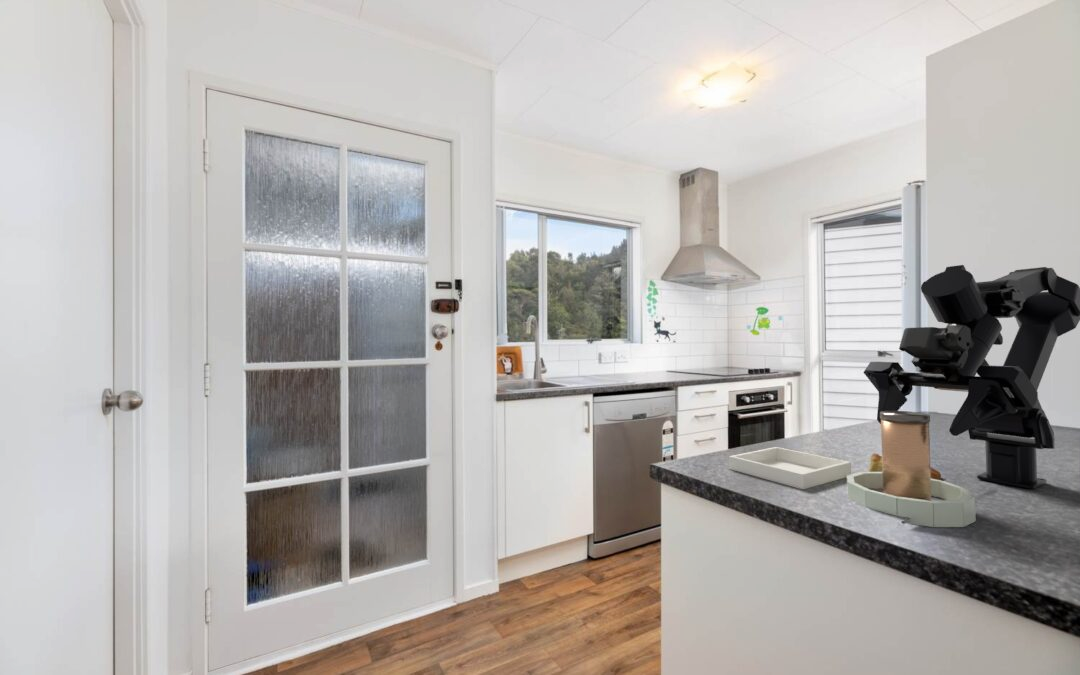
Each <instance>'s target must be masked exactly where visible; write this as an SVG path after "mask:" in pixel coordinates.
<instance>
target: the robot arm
mask: <svg viewBox="0 0 1080 675" xmlns="http://www.w3.org/2000/svg"><path fill="white" fill-rule="evenodd" d="M920 291H921V293H922V294H923V297H924V298H925V300H926V302H927V304H928V306H929V308H930V309H931V311H932V313H933V315H934V318H935V319H936V321H937V322H938V323H942V324H946V326H945V327H934V326H924V327H906V328H903V329H904V330H903V333H902V335H901V341H900V344H899V347H898V349H899V350H900V351H901V352H905V353H906V354H908V355H910V356H912V357H913V358H912V359H911V363H912V364H913V366H914V367H915V368H919V370H917V371H916V370H905V369H904V368H903V367H902V366H901V365H900V364H901V363H899V362H898V361H897V362H896V361H895V362H894V361H870V362H869V363H868V365H867V367H866V368H865V369H864V371H863V374H864V375H865V376H866V377H867V379H868V381H870V383H871V384H872V385H873V387H874V388H875V389H876V390H877V392H878V401H877V402H878V403H877V414H876V421H878V423H879V425H881V418H880V412H881V411H900V409H901V408H902V407H903V405H904V404H906V402H908V398H907V396H909V395H910V394H911V392H912V391H913V390H914V389H913V386H914V387H925V388H934V389H937V390H940V391H955V392H964V393H967V397H966V398H965V399H964V401H963V403H962V405H961V406H960V408H959V410H958V411H957V413H956V415H955V416H954V418H953V420H952V422H951V424H950V427H949V428H948V429H949V430H948V431H949V433H950V434H951V435H952V436H955V437H957V436H959V435H961V434H963V433H965V432H967V431H968V435H969V436H968V437H969V440H972V441H973V440H974V441H976V440H977V441H982V442H984V443H985V444H984V445H985V446H984V447H985V448H984V449H985V472H982V473H979V474H977V475H976V479H979V480H984V481H988V482H993V483H999V484H1004V485H1010V486H1013V487H1014V486H1015V487H1020V488H1023V489H1024V488H1025V489H1031V490H1034V489H1036V488H1038V487H1040V486H1042V485H1044V484H1047V478H1046V479H1045V478H1039V477H1038V468H1037V466H1038V464H1037V461H1038V460H1037V449H1038V450H1044V449H1048V450H1049V449H1056V448H1055V432H1054V430H1053V428H1052V424H1050V421H1049V419H1048V417H1047V415H1046V412H1045V410H1044V409H1043V408H1042V405H1041V402H1040V400H1039V396H1038V394H1039V393H1038V388H1039V387H1040V384H1041V381H1042V379H1043V376H1044V373H1045V370H1046V368H1047V366H1048V363H1049V361H1050V357H1051V355H1052V352H1053V351H1054V347H1055V345H1056V342H1057V340H1058V337H1060V336H1062V335H1065V334H1067V333H1069V332H1071V331H1073V330H1074V329H1076V328H1077V326H1078V324H1079V323H1080V285H1079V284H1077V283H1076V282H1073V281H1070V280H1068V279H1066V278H1063V277H1061V276H1059V275H1058V274H1057V273H1056V271H1055V269H1054V267H1047V266H1042V267H1031V268H1023V269H1015V270H1014V271H1010V272H1009V273H1008V274H1007V275H1003V276H1001V277H998V278H997V279H993V280H988V281H976V279H975V278H974V276H973V274H972V272H970V271H969V270H967V269H966V266H964V264H960V265H952V266H946V268H945V269H944V271H943V272H942V271H941V272H939V273H936V274H935V275H933V276H931V277H930V278H928V279H927V280H926V281H923V282H922V284H921V285H920ZM1008 318H1015V320H1016V324H1017V325H1018V330H1017V331H1016V334H1015V337H1014V339H1013V341H1012V343H1011V346H1010V349H1009V351H1008V353H1007V355H1006V357H1005V360H1004V363H1003V365H990V364H989V362H988V361H987V359H986V358H987V356H988V354H989V352H990V350H991V349H992V348H993V346H995V345H996V346H997V345H998V346H999V345H1001V346H1002V345H1003V343H1004V339H1003V335H1002V334H1001V332H1002V329H1003V326H1002V323H1001V322H1000V321H999V319H1008ZM976 374H977V375H978V376H976Z"/></svg>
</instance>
